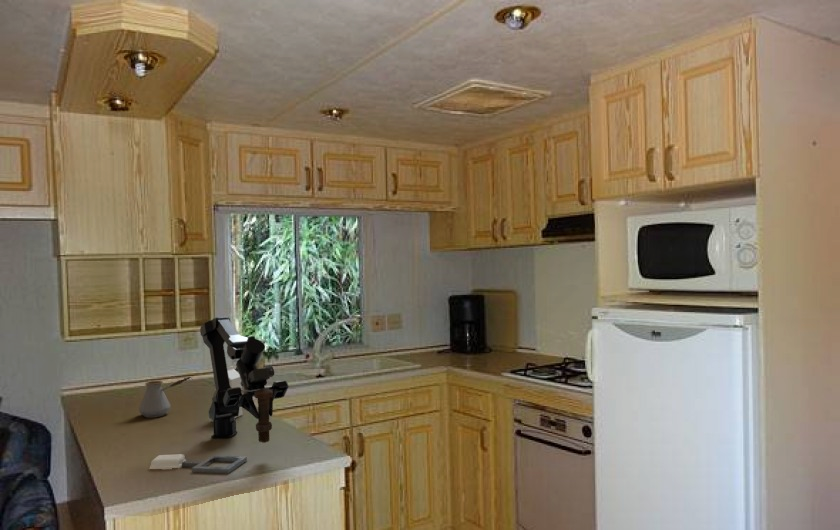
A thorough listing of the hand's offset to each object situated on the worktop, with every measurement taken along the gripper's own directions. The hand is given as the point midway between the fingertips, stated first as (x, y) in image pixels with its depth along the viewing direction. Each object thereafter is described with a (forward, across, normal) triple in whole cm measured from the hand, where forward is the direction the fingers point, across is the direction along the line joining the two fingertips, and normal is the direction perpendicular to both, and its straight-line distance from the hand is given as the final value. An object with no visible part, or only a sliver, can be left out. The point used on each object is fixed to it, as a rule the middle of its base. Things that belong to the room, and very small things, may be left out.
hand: (264, 416), depth 178 cm
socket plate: (+5, -14, +13) cm, 20 cm away
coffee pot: (-47, -7, +66) cm, 81 cm away
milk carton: (-32, +10, +51) cm, 62 cm away
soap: (-1, -23, +20) cm, 31 cm away
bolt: (+4, 0, +7) cm, 8 cm away
